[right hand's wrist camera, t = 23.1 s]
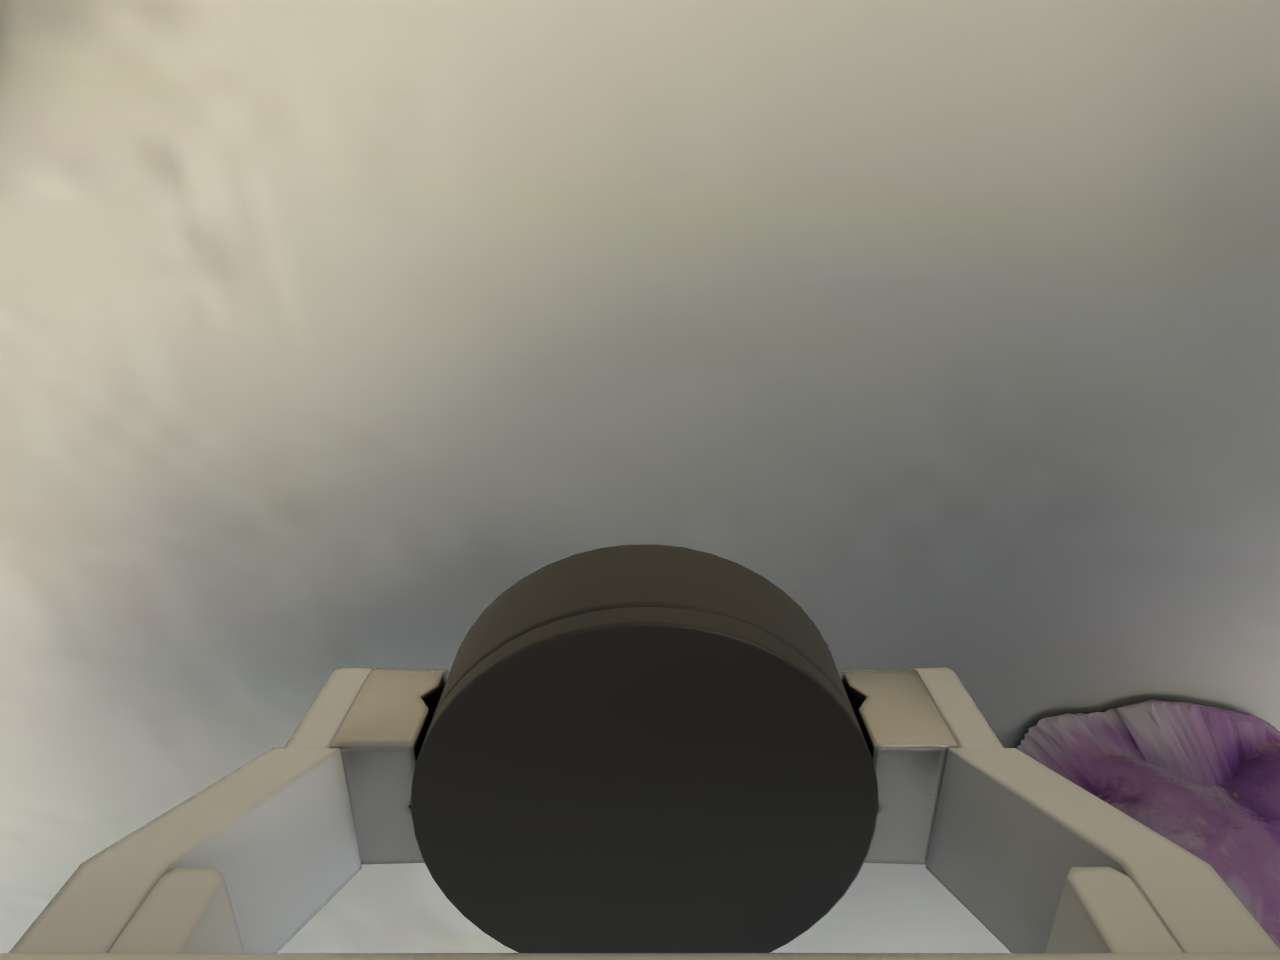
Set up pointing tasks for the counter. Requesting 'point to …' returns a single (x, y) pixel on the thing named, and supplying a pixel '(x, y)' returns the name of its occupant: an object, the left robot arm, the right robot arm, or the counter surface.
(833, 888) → the lid
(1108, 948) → the right robot arm
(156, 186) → the counter surface
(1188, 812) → the figurine
